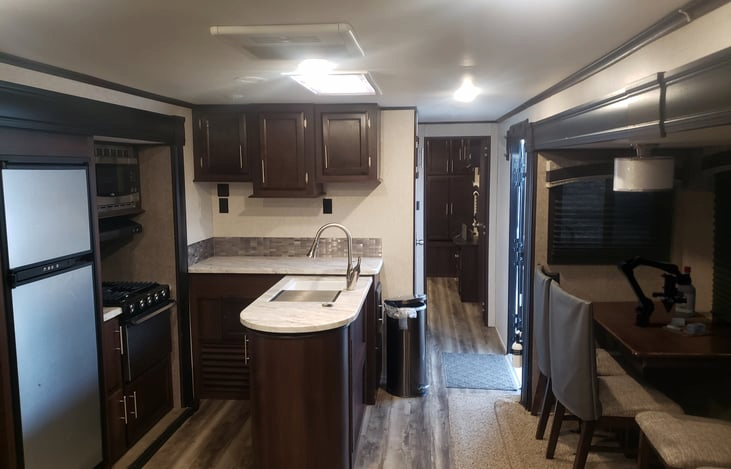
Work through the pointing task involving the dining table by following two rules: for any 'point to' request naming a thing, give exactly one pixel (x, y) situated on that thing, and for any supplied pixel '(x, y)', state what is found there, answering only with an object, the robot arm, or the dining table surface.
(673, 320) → the push plate
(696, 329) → the gauge base
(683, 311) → the liquor
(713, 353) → the dining table surface
